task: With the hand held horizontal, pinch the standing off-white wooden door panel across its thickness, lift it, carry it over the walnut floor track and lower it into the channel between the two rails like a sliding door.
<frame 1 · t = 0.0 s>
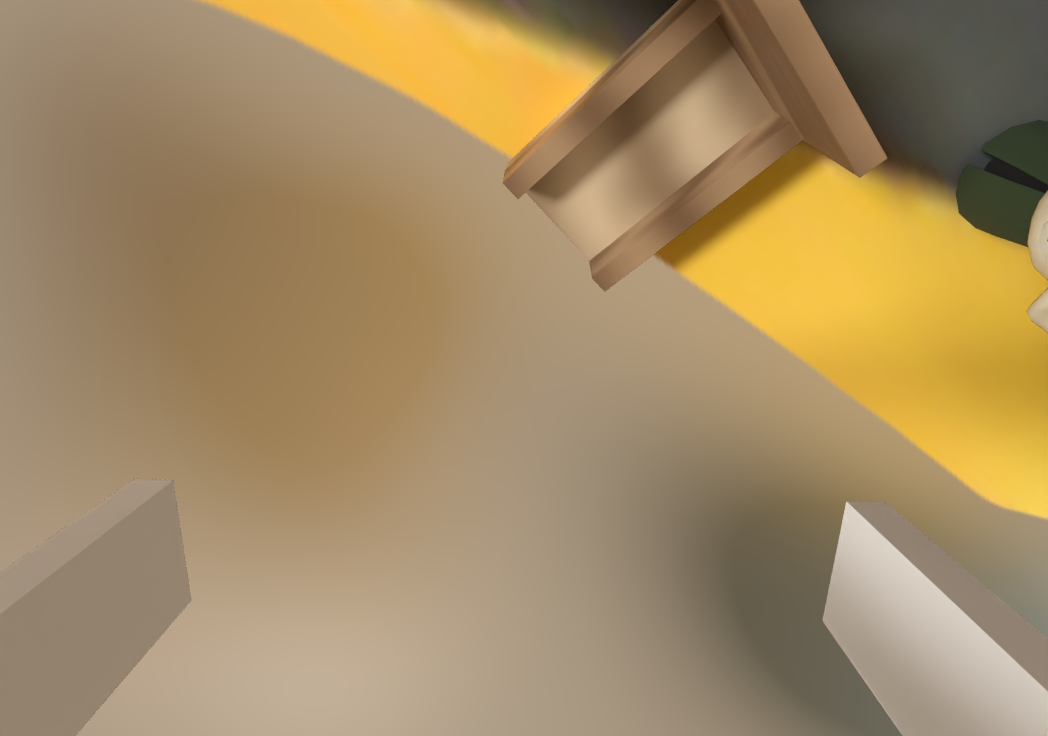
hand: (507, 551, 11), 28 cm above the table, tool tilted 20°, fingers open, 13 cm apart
track: (639, 145, 34), on the table
character mug: (1005, 173, 34), on the table
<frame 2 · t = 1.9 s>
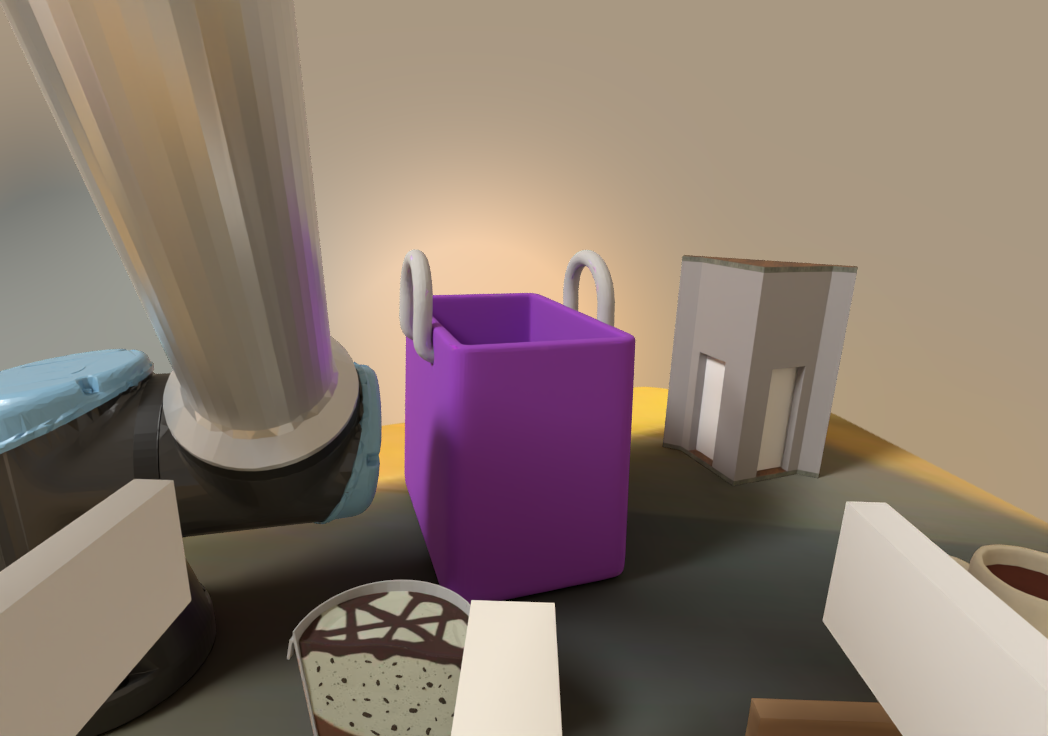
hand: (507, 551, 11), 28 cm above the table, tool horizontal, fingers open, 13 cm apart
shopping bag: (500, 527, 64), on the table
food container: (406, 732, 39), on the table
cabinet: (733, 471, 79), on the table
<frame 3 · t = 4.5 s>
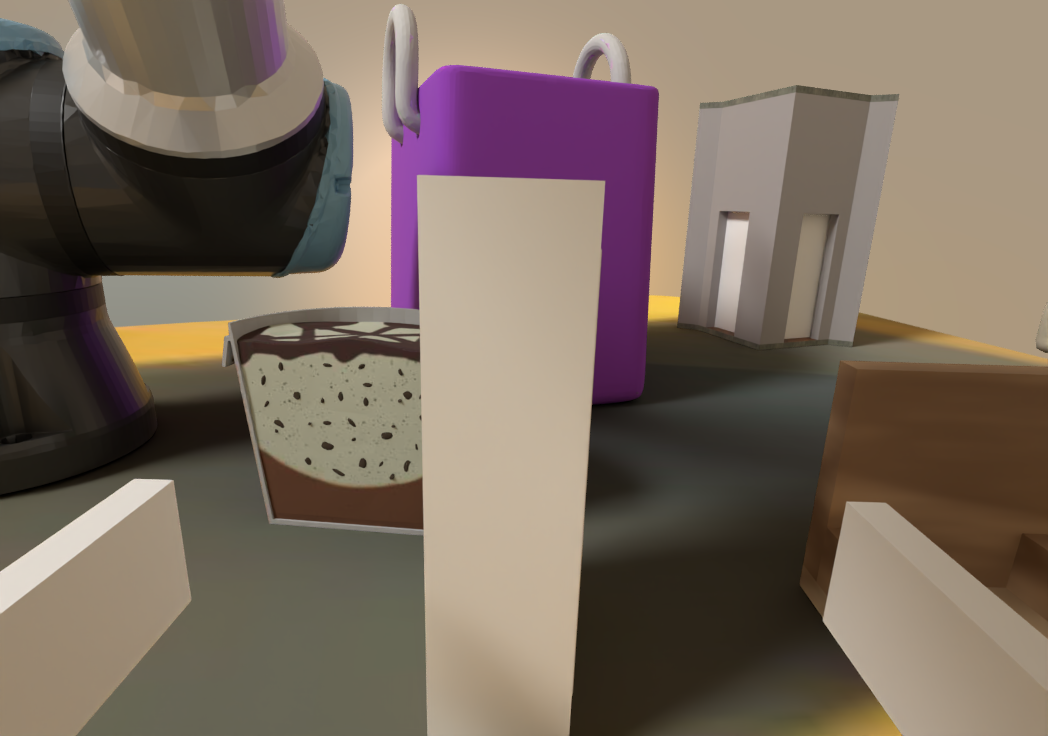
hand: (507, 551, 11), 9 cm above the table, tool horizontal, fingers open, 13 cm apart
shopping bag: (499, 372, 56), on the table
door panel: (503, 658, 21), on the table
food container: (382, 503, 31), on the table
cabinet: (757, 343, 72), on the table
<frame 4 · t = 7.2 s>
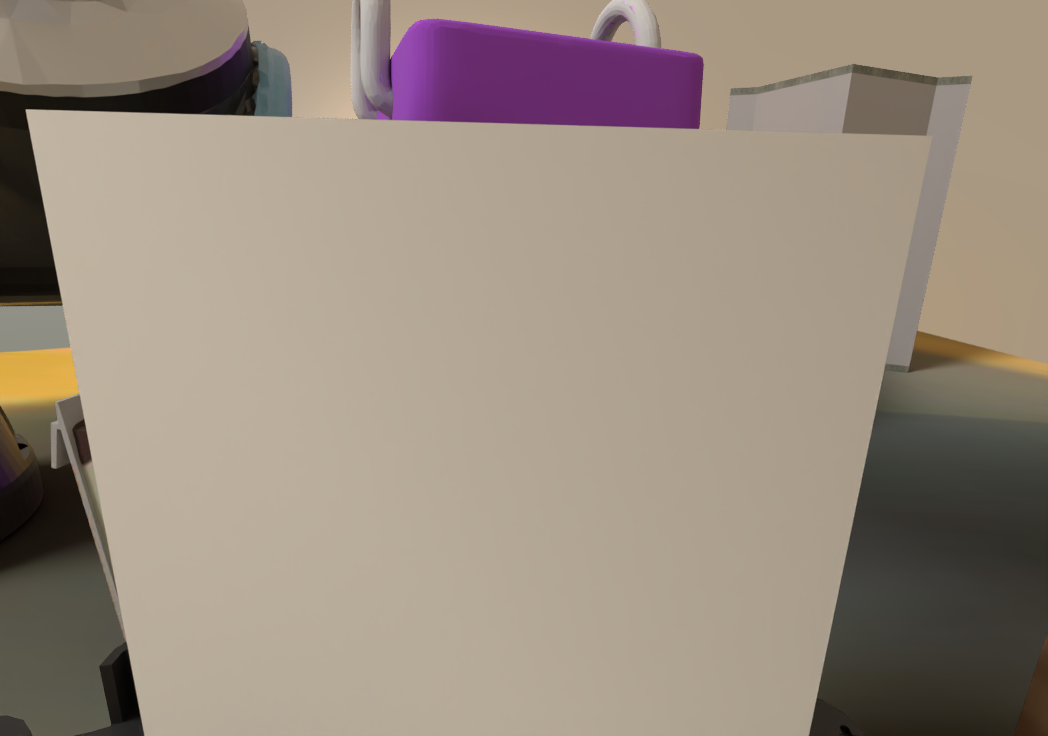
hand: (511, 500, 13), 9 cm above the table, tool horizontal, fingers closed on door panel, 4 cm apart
shopping bag: (496, 409, 46), on the table
food container: (321, 644, 21), on the table
cabinet: (796, 367, 62), on the table
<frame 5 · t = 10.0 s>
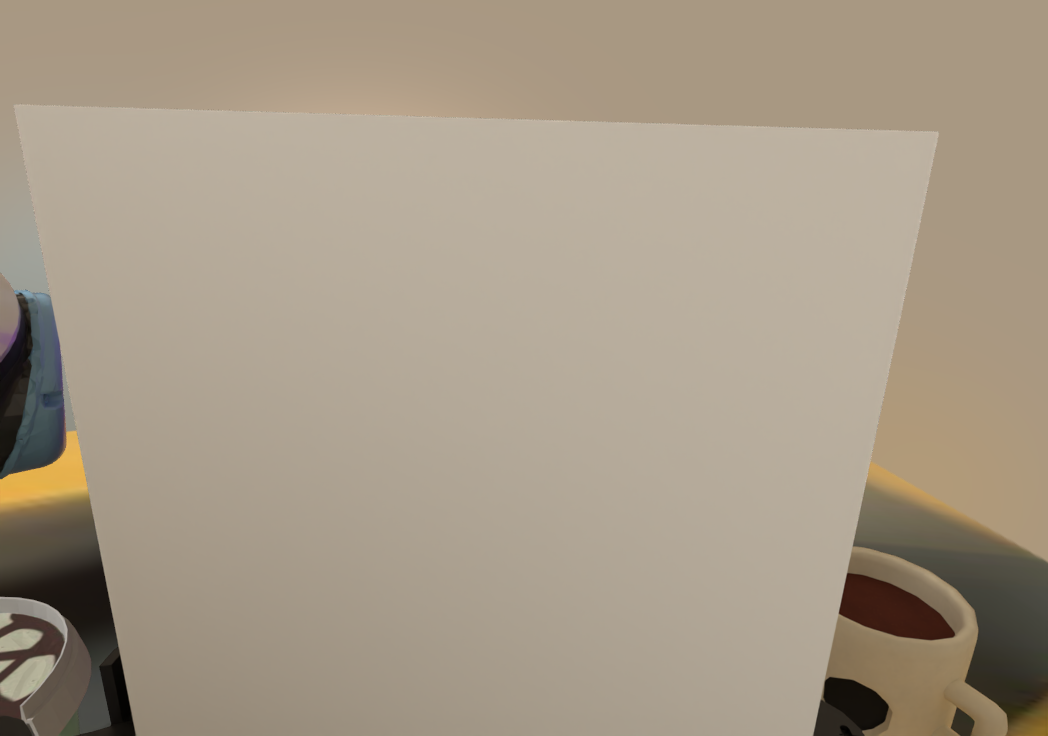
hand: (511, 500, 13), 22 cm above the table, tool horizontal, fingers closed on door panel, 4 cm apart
when the fingers open (11 cm above the table, at t = 12.8 s): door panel drops 1 cm, resting on track.
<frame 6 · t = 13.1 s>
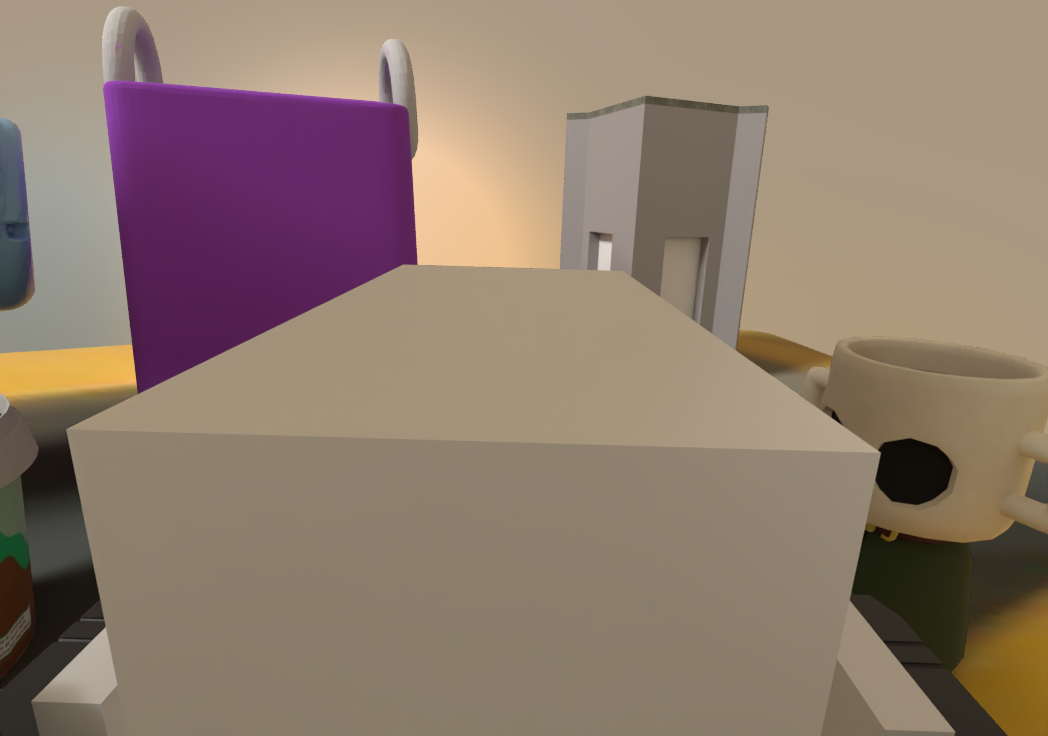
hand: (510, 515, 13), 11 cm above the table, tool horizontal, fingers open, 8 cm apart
shopping bag: (301, 418, 50), on the table
character mug: (870, 641, 26), on the table
cabinet: (630, 376, 65), on the table
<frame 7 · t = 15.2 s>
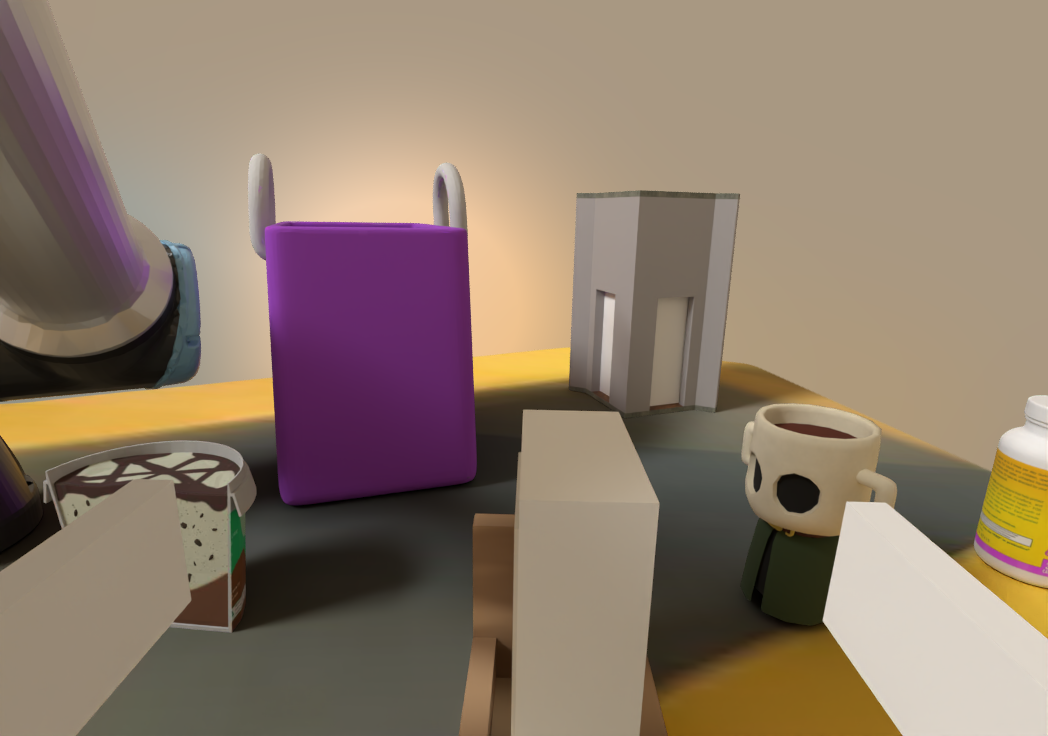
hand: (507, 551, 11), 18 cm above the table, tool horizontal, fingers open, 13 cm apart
shopping bag: (372, 448, 64), on the table
supplement bottle: (1026, 568, 44), on the table
food container: (192, 597, 39), on the table
character mug: (788, 604, 39), on the table
cabinet: (631, 408, 79), on the table
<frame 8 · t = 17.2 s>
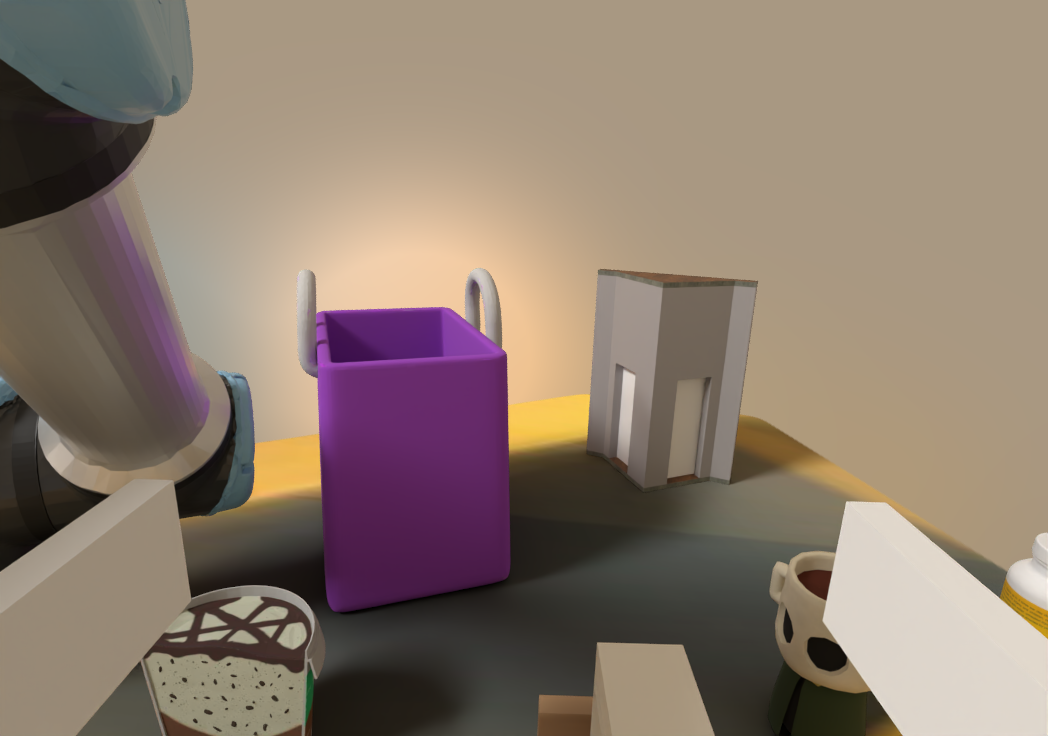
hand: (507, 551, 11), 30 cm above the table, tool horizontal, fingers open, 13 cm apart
shopping bag: (405, 534, 67), on the table
supplement bottle: (1029, 689, 47), on the table
food container: (260, 729, 42), on the table
character mug: (812, 735, 42), on the table
cabinet: (648, 478, 82), on the table
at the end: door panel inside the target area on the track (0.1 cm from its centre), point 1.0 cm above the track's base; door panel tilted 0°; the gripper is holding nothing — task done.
